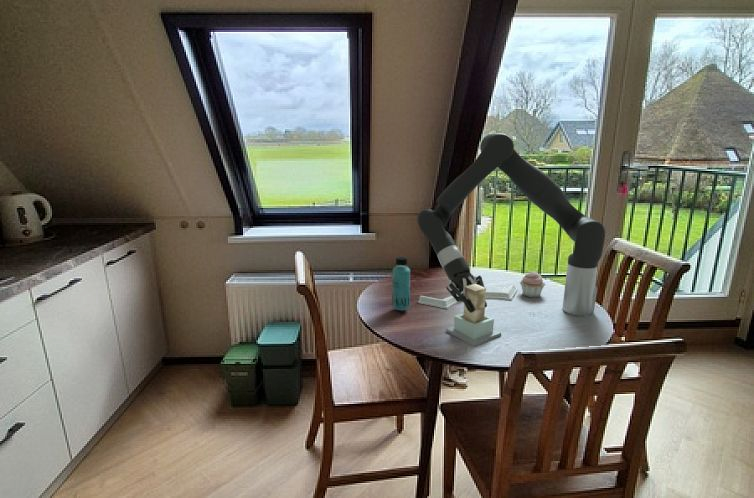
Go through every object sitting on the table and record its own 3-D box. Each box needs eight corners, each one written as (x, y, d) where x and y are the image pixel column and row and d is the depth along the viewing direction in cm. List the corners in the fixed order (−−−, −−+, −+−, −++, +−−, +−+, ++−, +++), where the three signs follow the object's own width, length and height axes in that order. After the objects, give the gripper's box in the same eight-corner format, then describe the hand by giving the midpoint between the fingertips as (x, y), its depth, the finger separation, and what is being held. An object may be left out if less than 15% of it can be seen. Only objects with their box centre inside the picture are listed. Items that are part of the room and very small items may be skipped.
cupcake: (534, 289, 166) (536, 265, 163) (549, 297, 157) (551, 272, 155) (513, 291, 164) (515, 267, 161) (527, 300, 155) (530, 275, 152)
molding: (511, 288, 169) (512, 282, 168) (529, 299, 157) (530, 292, 157) (414, 300, 158) (414, 293, 157) (426, 313, 147) (426, 305, 146)
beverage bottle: (398, 305, 152) (398, 253, 147) (413, 309, 149) (414, 256, 143) (388, 311, 147) (388, 258, 142) (404, 316, 143) (404, 261, 138)
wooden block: (473, 318, 132) (475, 283, 129) (483, 323, 129) (486, 287, 125) (463, 322, 130) (464, 286, 127) (473, 327, 126) (475, 291, 123)
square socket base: (472, 321, 138) (473, 306, 137) (501, 335, 129) (502, 319, 127) (446, 331, 132) (446, 315, 131) (473, 346, 122) (474, 329, 121)
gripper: (442, 260, 126) (469, 310, 120) (475, 252, 134) (502, 299, 127) (430, 272, 132) (455, 320, 126) (463, 264, 139) (488, 309, 133)
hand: (478, 309), depth 126 cm, fingers closed on wooden block, 4 cm apart
